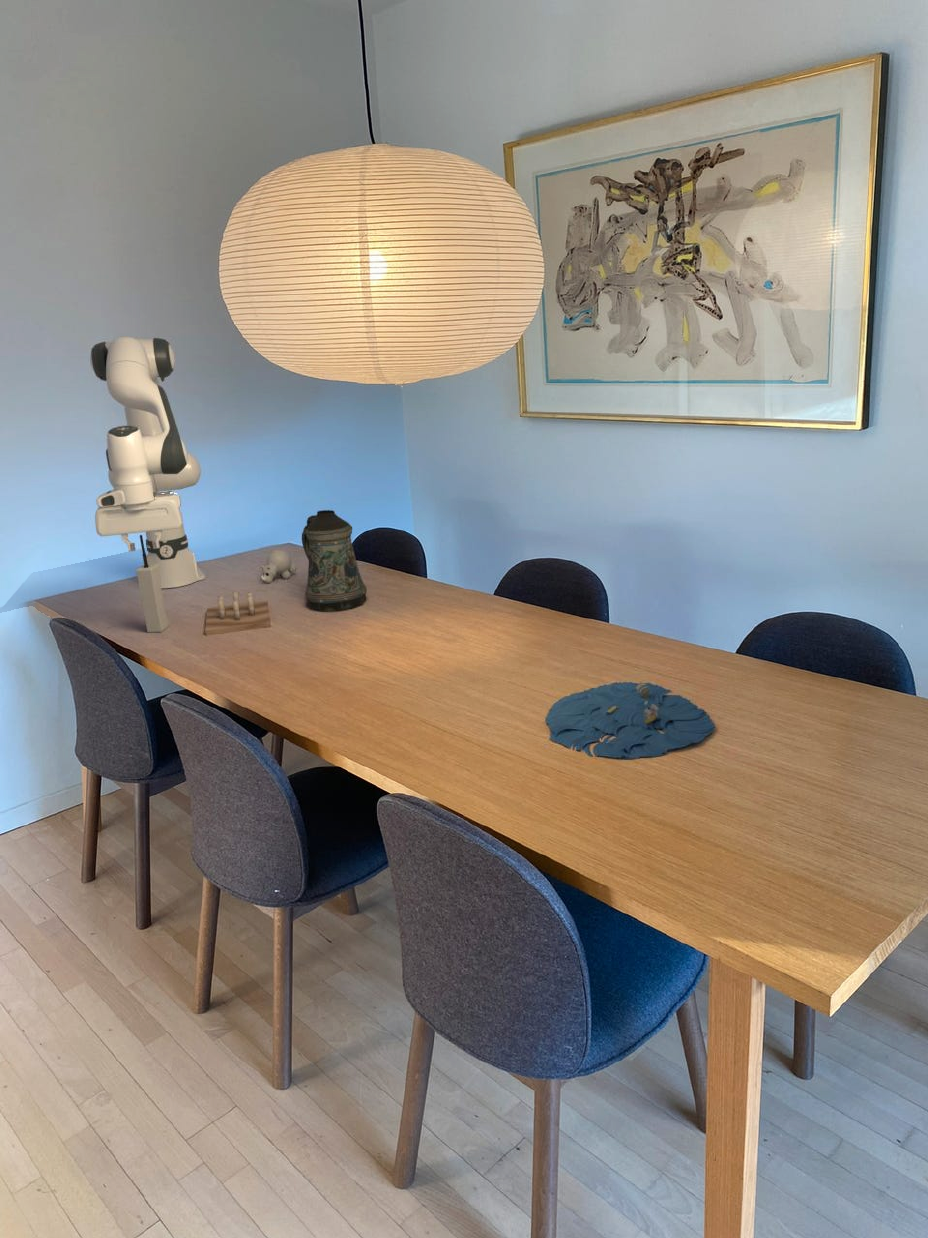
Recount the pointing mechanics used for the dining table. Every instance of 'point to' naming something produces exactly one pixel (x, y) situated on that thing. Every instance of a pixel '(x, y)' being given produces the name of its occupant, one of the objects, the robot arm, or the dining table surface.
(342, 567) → the beer stein
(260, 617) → the pin dock
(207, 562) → the dining table surface
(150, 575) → the vintage mobile phone
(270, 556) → the round bodied animal figurine
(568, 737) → the decorative plate
